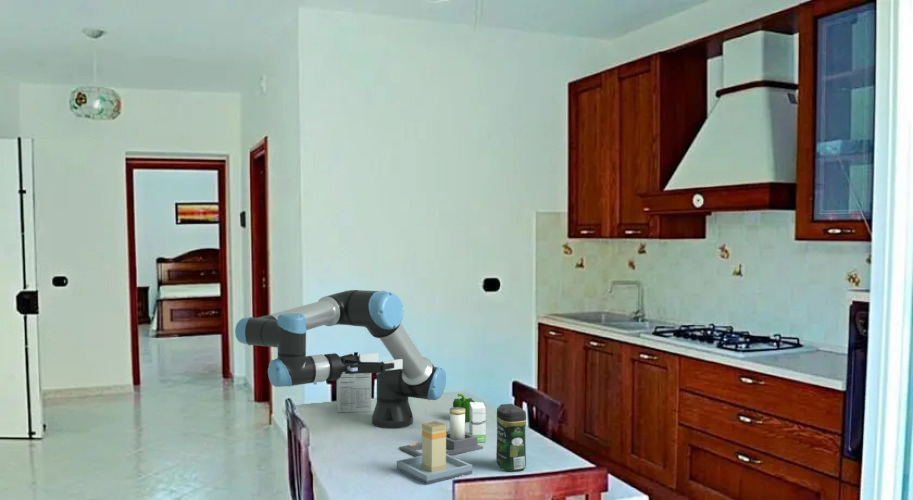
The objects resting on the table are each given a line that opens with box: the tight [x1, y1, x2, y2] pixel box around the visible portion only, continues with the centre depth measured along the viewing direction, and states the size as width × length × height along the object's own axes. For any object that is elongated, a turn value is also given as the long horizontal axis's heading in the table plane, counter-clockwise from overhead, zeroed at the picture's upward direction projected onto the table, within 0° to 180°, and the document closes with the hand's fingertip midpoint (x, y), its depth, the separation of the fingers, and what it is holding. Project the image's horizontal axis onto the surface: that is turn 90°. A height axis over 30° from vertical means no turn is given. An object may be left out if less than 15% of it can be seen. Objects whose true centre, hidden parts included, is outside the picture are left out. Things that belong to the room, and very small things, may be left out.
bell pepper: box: [452, 393, 475, 422], centre depth 268 cm, size 8×8×10 cm
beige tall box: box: [421, 420, 448, 472], centre depth 210 cm, size 5×5×13 cm
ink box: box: [468, 401, 487, 443], centre depth 243 cm, size 9×5×12 cm, turn 5°
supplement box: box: [336, 372, 372, 413], centre depth 285 cm, size 13×13×18 cm
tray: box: [396, 454, 473, 486], centre depth 210 cm, size 16×16×2 cm
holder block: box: [398, 432, 484, 457], centre depth 232 cm, size 15×22×3 cm
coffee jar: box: [495, 403, 527, 472], centre depth 214 cm, size 10×8×19 cm
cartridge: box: [449, 407, 466, 440], centre depth 236 cm, size 5×5×12 cm
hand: (389, 360), depth 213 cm, fingers open, 13 cm apart
